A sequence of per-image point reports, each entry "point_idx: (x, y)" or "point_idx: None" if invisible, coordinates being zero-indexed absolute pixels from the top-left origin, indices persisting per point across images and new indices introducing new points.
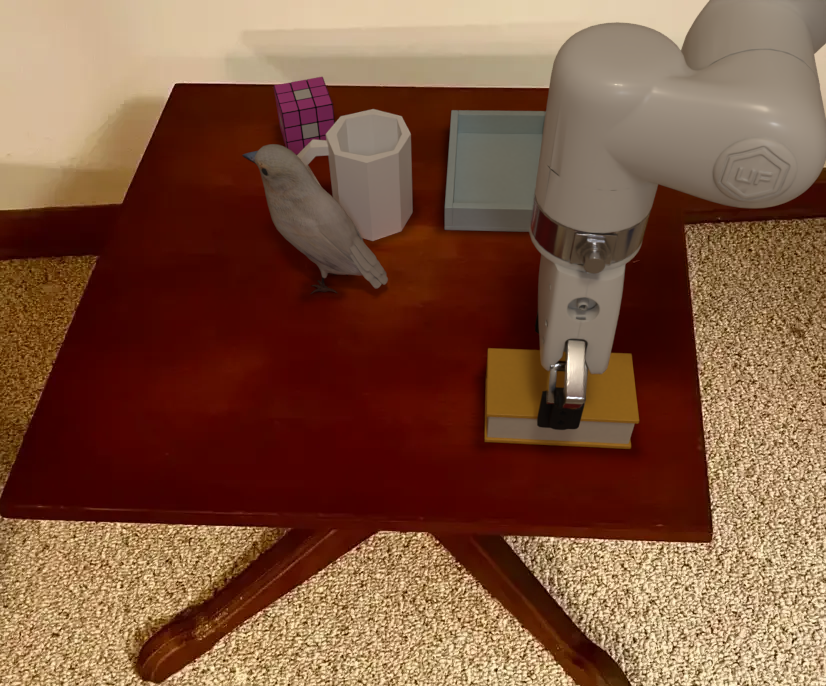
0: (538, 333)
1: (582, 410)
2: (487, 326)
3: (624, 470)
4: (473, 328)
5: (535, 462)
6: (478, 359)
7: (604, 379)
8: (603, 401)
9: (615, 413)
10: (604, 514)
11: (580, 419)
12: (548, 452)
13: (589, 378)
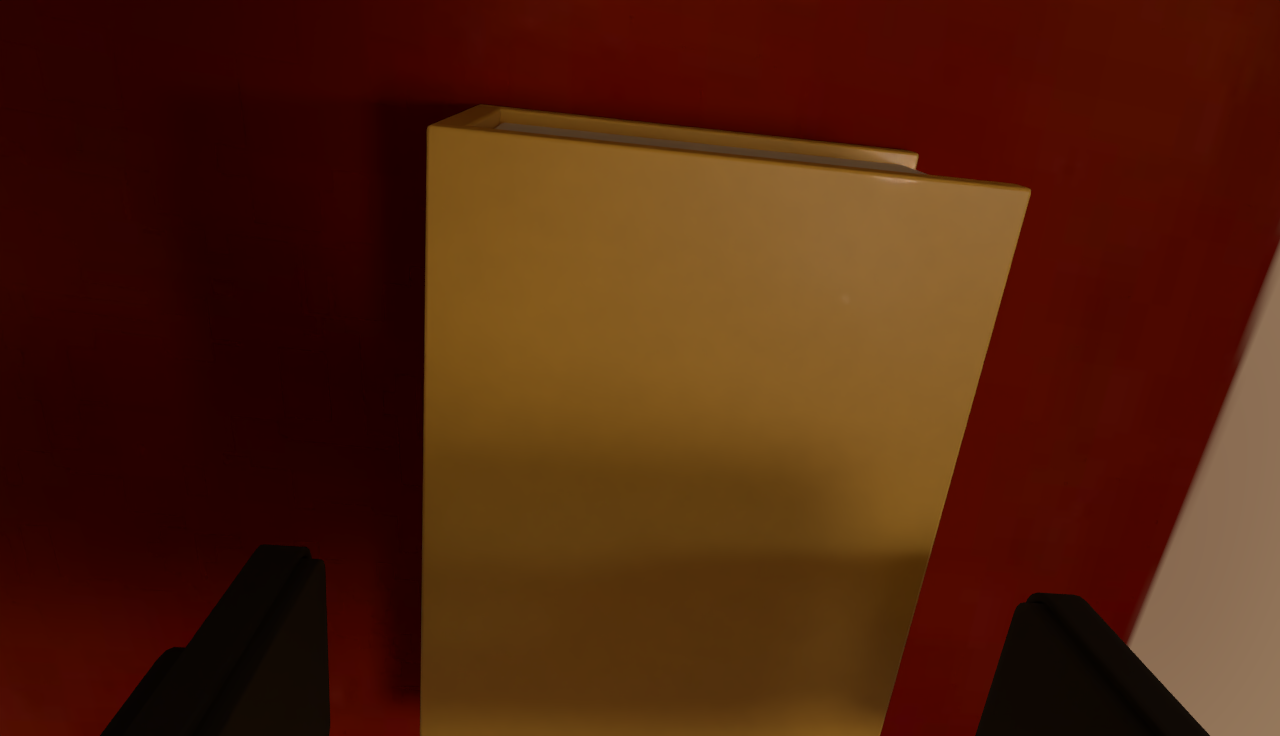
0: (328, 734)
1: (1198, 729)
2: None
3: None
4: None
5: None
6: (359, 721)
7: (664, 354)
8: (841, 386)
9: (945, 330)
10: (1214, 328)
11: (1130, 652)
12: None
13: (653, 443)
